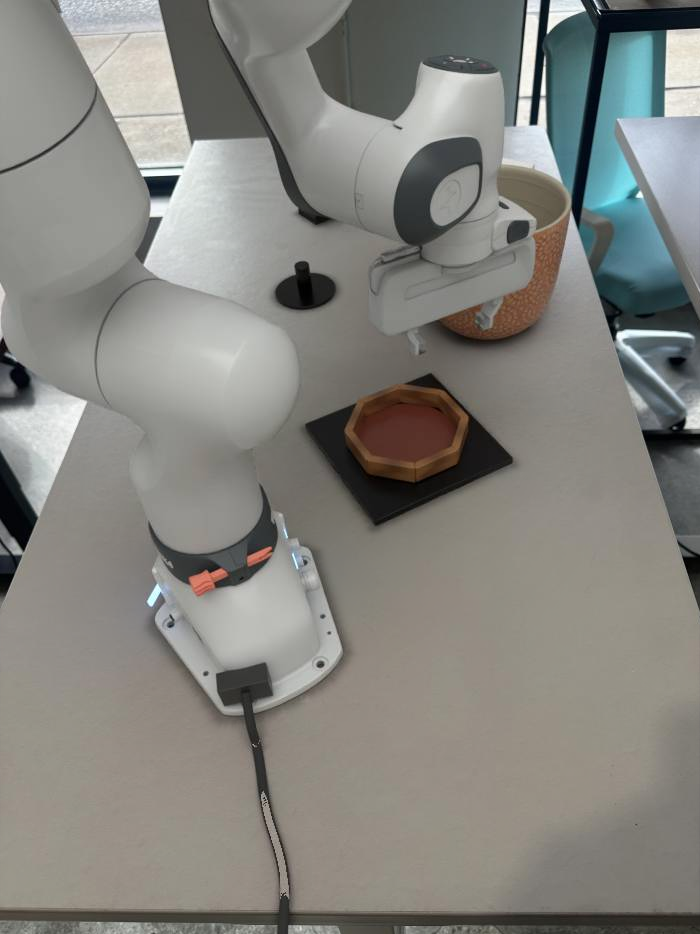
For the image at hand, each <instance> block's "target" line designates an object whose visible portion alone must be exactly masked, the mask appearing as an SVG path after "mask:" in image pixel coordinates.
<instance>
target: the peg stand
mask: <svg viewBox="0 0 700 934" xmlns="http://www.w3.org/2000/svg"><path fill="white" fill-rule="evenodd" d="M293 267H294V273H295V274H294V275H289V276H288V277H286V278H284V279H283V280H282V281H280V282H279V283H278V284H277V286H276V288H275V292H274V293H275V299H276V301H277V302H278V303H279V304H280V305H282V306H284V307H286V308H288V309H291V310H292V309H293V310H311V309H315V308H320V307H321V306H323V305H325V304H327V303H328V302H330V301H331V300H332V299H333V298H334V296H335V295H336V290H337V288H336V284H335V282H334V280H333V279H331V277H329V276H327V275H325V274H322V273H317V272H311V268H310V263H309V262H308V261H306V260H300V261H297V262H295V263H294V266H293Z"/></svg>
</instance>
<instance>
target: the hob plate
mask: <svg viewBox="0 0 700 934" xmlns="http://www.w3.org/2000/svg"><path fill="white" fill-rule="evenodd" d="M404 384H405V385H412V386H419V387H426V388H433V389H439V390H442V391H445V392H446V393H447V394H448V395H449V396H450V398H451V399H452V400H453V401H454V402H455V403H456V404H457V405H458V406H459V407H460V408H461V409H462V410H463V411H464V412H465V413H466V414H467V415H468V417H469V421H468V433H467V436H466V439H465V442H464V446H463V449H462V452H461V456H460V459H459V462H458V463H457V464H456V465H454V466H451V467H449V468H447V469H445V470H442V471H440V472H438V473H436V474H434V475H431V476H429V477H427V478H425V479H422V480H420V481H418V482H416V481H415V482H409V481H404V480H398V479H392V478H387V477H381V476H375V475H370V474H369V473H367V472H366V471H365V469H364V468H363V467H362V465H361V464H360V463H359V461H358V460H357V459H356V457H355V456H354V455H353V453H352V452H351V451H350V449H349V448H348V447H347V445H346V439H345V431H344V430H345V428H346V426H347V424H348V421H349V419H350V417H351V415H352V413H353V411H354V408H355V406H356V404H357V402H355V403H353V404H351V405H348V406H346V407H343V408H341V409H338V410H335V411H334V412H330V413H328V414H326V415H323V416H321V417H319V418H316V419H313V420H311V421H309V422H305V425H304V426H305V430H306V431H307V432H308V434H309V436H310V437H311V438H312V440H313V441H314V442H315V443H316V445H317V446H318V448H319V449H320V450H321V452H322V453H323V455H324V456H325V458H326V459H327V460H328V461H329V463H330V464H331V466H332V467H333V468H334V470H335V472H336V473H337V474H338V476H339V478H341V479H342V481H343V482H344V484H345V485H346V487H347V488H348V489H349V491H350V492H351V493H352V495H353V497H354V498H355V499H356V501H357V502H358V503H359V505H360V506H361V507H362V509H363V510H364V511H365V513H366V514H367V515H368V518H370V520H371V521H372V523H373V524H374V526H379V525H381V524H383V523H387V522H388V521H390V520H392V519H394V518H396V517H399V516H400V515H403V514H405V513H408V512H410V511H411V510H414V509H417V508H418V507H420V506H423V505H425V504H427V503H429V502H431V501H433V500H436V499H437V498H439V497H442V496H444V495H446V494H448V493H450V492H453V491H455V490H457V489H459V488H462V487H464V486H465V485H467V484H471V483H472V482H474V481H476V480H480V479H482V478H483V477H485V476H487V475H489V474H492V473H494V472H496V471H498V470H500V469H502V468H504V467H507V466H508V465H511V464H513V462H514V457H513V456H512V455H511V454H510V453H509V452H508V451H507V450H506V449H505V448H504V447H503V446H502V445H501V444H500V443H499V441H498V440H496V438H495V437H494V436H493V435H492V434H491V433H490V432H489V431H488V430H487V429H486V428H485V427H484V425H482V424H481V423H480V422H479V420H477V419H476V418H475V417H474V416H473V414H471V413H470V411H469V410H468V409H467V408H466V407H464V405H463V404H462V403H461V402H460V401H459V400H458V399H457V398H456V397H455V396H454V395H453V394H452V393H451V392H450V390H448V388H446V387H445V386H444V385H443V383H442V382H440V380H438V378H436V376H435V374H433V373H432V372H430V373H428V374H424V375H422V376H420V377H418V378H415V379H412V380H410V381H408V382H405V383H404ZM456 431H457V427H456V426H455V425H454V424H453V423H452V422H451V421H450V420H449V419H448V418H447V417H446V415H445V414H444V413H443V412H442V411H441V410H440V409H439V408H436V407H429V406H423V405H416V404H410V403H403V402H399V403H397V404H395V405H392V406H390V407H387V408H385V409H382V410H380V411H377V412H375V413H373V414H370V415H368V416H366V417H365V419H364V421H363V424H362V426H361V428H360V431H359V433H358V435H357V437H358V438H359V440H360V441H361V442H362V443H363V445H364V446H365V447H366V449H367V450H368V451H369V452H370V454H371V455H372V456H377V457H383V458H389V459H395V460H401V461H407V462H412V463H415V462H418V461H420V460H422V459H424V458H427V457H429V456H431V455H433V454H436V453H438V452H440V451H443V450H445V449H447V448H449V447H452V443H453V440H454V437H455V434H456Z"/></svg>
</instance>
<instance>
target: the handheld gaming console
mask: <svg viewBox="0 0 700 934" xmlns="http://www.w3.org/2000/svg"><path fill="white" fill-rule="evenodd" d="M297 211H298V214H299V215H300V216H301V217H304V218H305V219H307V220H309V221H310V222H311V223H313V224H314V225H318V224H322V223H323V222H325V221H328V220H330V219H329V218H326V217H322V216H318V215H314V214H310V213H307V212H304V211H302V210H300V209H299V208H298V207H297Z"/></svg>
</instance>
